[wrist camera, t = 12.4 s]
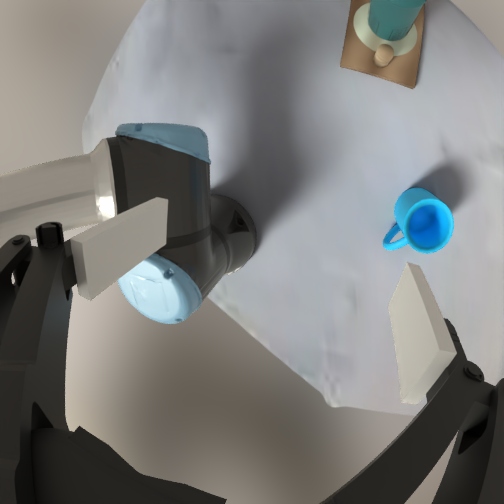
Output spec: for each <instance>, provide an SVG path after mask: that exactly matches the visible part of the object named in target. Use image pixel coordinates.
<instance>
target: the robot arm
mask: <svg viewBox="0 0 504 504" xmlns="http://www.w3.org/2000/svg"><path fill="white" fill-rule="evenodd" d="M115 135H116V137H111V138H104V139H102V140H101V141H100V143H99V144H98V145H97V146H96V148H95V149H94V150H93V151H92V152H91V153H89V154H84V155H79V156H74V157H69V158H64V159H59V160H55V161H50V162H46V163H42V164H38V165H34V166H30V167H27V168H23V169H19V170H15V171H12V172H9V173H5V174H2V175H0V504H225V502H226V500H227V499H224V498H221V497H218V496H215V495H212V494H210V493H207V492H204V491H201V490H199V489H196V488H194V487H191V486H188V485H186V484H182V483H177V482H172V481H167V480H163V479H158V478H154V477H150V476H146V475H143V474H140V473H139V472H137V471H136V470H135V469H134V468H133V467H132V466H130V465H129V464H128V463H127V462H126V461H125V460H124V459H123V458H122V457H121V456H120V455H119V454H117V453H116V452H115V451H114V450H113V449H112V448H111V447H110V446H109V445H107V444H106V443H105V442H103V441H101V440H100V439H98V438H97V437H95V436H94V435H92V434H91V433H89V432H87V431H86V430H85V429H83V428H82V427H80V426H79V427H78V428H77V429H76V430H75V432H72V431H69V429H68V426H67V423H66V417H65V369H66V349H67V338H68V328H69V319H70V311H71V303H72V296H73V293H72V287H73V286H74V285H76V284H77V287H78V292H79V295H80V296H82V297H84V298H86V299H88V300H90V301H91V300H92V299H94V298H95V297H96V296H97V295H99V294H100V293H101V292H102V291H104V290H105V289H106V288H108V287H109V286H110V285H112V284H113V283H114V282H115V281H117V280H118V284H119V286H120V289H121V291H122V292H123V294H124V296H125V297H126V299H127V300H128V301H129V302H130V303H131V305H132V306H134V307H135V308H136V309H137V310H138V311H139V312H140V313H142V314H143V315H145V316H146V317H148V318H150V319H152V320H154V321H157V322H161V323H167V324H174V323H178V322H182V321H183V320H185V319H187V318H188V317H189V316H190V315H191V314H192V313H193V312H194V311H195V310H197V309H198V308H199V307H200V305H201V303H202V302H203V300H204V299H205V298H206V297H207V295H208V294H209V293H210V291H211V290H212V289H213V288H214V287H215V285H216V284H217V283H218V282H219V280H220V279H221V278H222V276H224V275H227V274H231V273H233V272H235V271H237V270H239V269H240V268H242V267H243V266H244V265H245V264H246V262H247V261H248V260H249V258H250V257H251V256H252V254H253V252H254V249H255V245H256V231H255V227H254V224H253V221H252V219H251V217H250V216H249V214H248V213H247V211H246V210H245V209H244V208H243V207H242V206H241V205H240V204H238V203H237V202H236V201H234V200H232V199H230V198H228V197H225V196H221V195H210V164H211V161H210V159H209V150H208V138H207V135H206V134H205V132H204V131H203V130H201V129H200V128H198V127H194V126H188V125H180V124H168V123H144V124H143V123H128V124H122V125H119V126H118V127H117V131H116V132H115ZM97 223H99V224H98V225H96V226H94V227H92V228H90V229H88V230H86V231H84V232H82V233H80V234H78V235H76V236H74V237H72V238H71V239H69V240H67V241H65V242H64V237H63V232H64V231H67V230H71V229H75V228H80V227H84V226H88V225H93V224H97ZM36 238H37V243H38V247H36V246H31V241H30V240H33V239H36ZM12 273H13V275H14V279H15V283H14V284H12V280H11V277H12ZM388 309H389V315H390V320H391V326H392V332H393V338H394V344H395V351H396V358H397V366H398V374H399V383H400V393H401V402H402V403H409V404H416V405H418V404H419V403H420V401H421V400H422V399H423V398H424V397H425V395H426V397H427V404H426V405H425V406H424V407H423V409H422V410H421V411H420V412H419V413H418V414H417V415H416V416H415V418H414V419H413V420H412V421H411V422H410V424H409V425H408V426H407V427H406V428H405V429H404V430H403V431H402V432H401V433H400V434H399V435H398V436H397V437H396V439H394V440H393V441H392V442H391V444H389V445H388V446H387V448H385V449H384V450H383V451H382V452H381V453H380V454H379V455H378V456H377V457H376V458H375V459H374V460H373V461H372V462H371V463H369V464H368V465H367V466H366V467H365V468H364V469H363V470H361V471H360V472H359V473H358V474H357V475H356V476H354V477H353V478H352V479H351V480H350V481H348V482H347V483H346V484H345V485H343V486H342V487H341V488H340V489H338V490H337V491H336V492H334V493H333V494H332V495H330V496H329V497H328V498H326V499H325V500H324V501H322V502H321V503H319V504H404V503H405V502H406V501H407V500H408V498H409V497H410V496H411V495H412V494H413V493H414V491H415V490H416V489H417V488H418V486H419V485H420V484H421V483H422V482H423V480H424V479H425V478H426V476H427V475H428V474H429V473H430V471H431V470H432V469H433V467H434V466H435V465H436V463H437V462H438V460H439V459H440V458H441V456H442V455H443V453H444V452H445V450H446V449H447V447H448V446H449V444H450V442H451V441H452V440H453V438H454V436H455V435H456V433H457V432H458V434H457V438H456V441H455V444H454V448H453V451H452V454H451V457H450V459H449V462H448V465H447V468H446V471H445V473H444V476H443V478H442V481H441V483H440V486H439V488H438V490H437V493H436V495H435V497H434V500H433V502H432V504H504V378H502V379H501V380H500V381H499V382H498V383H497V385H496V386H493V385H491V384H489V383H487V382H485V381H484V375H483V372H482V371H481V369H480V368H479V367H478V366H477V365H476V364H474V363H473V362H471V361H467V358H466V356H465V353H464V350H463V348H462V345H461V343H460V340H459V338H458V336H457V333H456V330H455V328H454V326H453V325H452V324H451V323H450V321H449V320H448V319H445V318H443V316H442V314H441V311H440V309H439V306H438V304H437V302H436V300H435V297H434V295H433V293H432V291H431V289H430V286H429V284H428V282H427V280H426V278H425V276H424V274H423V272H422V270H421V268H420V266H418V265H415V264H412V263H408V262H407V263H406V266H405V268H404V271H403V273H402V276H401V278H400V280H399V283H398V285H397V287H396V290H395V292H394V294H393V296H392V299H391V301H390V303H389V305H388ZM458 430H459V431H458Z"/></svg>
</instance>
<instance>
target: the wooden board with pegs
mask: <svg viewBox="0 0 504 504" xmlns="http://www.w3.org/2000/svg"><path fill="white" fill-rule="evenodd" d="M370 1H371V0H351V7H350V13H349V19H348V25H347V30H346V36H345V41H344V47H343V52H342V58H341V63H340V67H343V68H347V69H351V70H355V71H359V72H362V73H366V74H369V75H372V76H376V77H379V78H382V79H385V80H388V81H391V82H394V83H397V84H400V85H403V86H405V87H408V88H411V89H413V88H415V82H416V77H417V70H418V64H419V57H420V50H421V42H422V33H423V22H424V10H425V3H424V5H423V6H422V8H421V9H420V11H419V13H418V15H417V16H418V17H416V19H415V21H414V23H413V26H412V27H410V28H411V29H409V32H408V34H407V35H406V36H405V37H404V38H402V39H401V40H400V41H399V40H397V41H387V40H384V39H382V38H380V37H378V36H377V35H376V34H375V33H374V32H373V31H371V28H369V27H370V26H368V23H367V22H368V19H367V18H368V16H369V14H368V13H369V12H368V11H369V9H370V4H369V3H370Z"/></svg>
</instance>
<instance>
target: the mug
mask: <svg viewBox="0 0 504 504" xmlns="http://www.w3.org/2000/svg"><path fill="white" fill-rule="evenodd" d="M394 213H395V219H396V221H397V223H398V224H396V225H395V226H394V227H393V228H392V229H391V230H390V231H389V232H388V233H387V234H386V236H385V238H384V239H383V247H384V248H385V249H386V250H395V249H399V248H401V247H403V246H405V245H407V244H409V245H410V246H411V247H412V248H413V249H415V250H416V251H418V252H421V253H433V252H436V251H438V250H440V249H442V248H443V247H444V246H445V245H446V244H447V243H448V241H449V240H450V238H451V236H452V233H453V228H454V221H453V216H452V213H451V211H450V209H449V208H448V207H447V206H446V204H444V203H443V202H442V201H441V200H439V199H438V198H437V197H435V196H434V195H433V194H432V193H430V192H429V191H427V190H425V189H423V188H411V189H408V190H407V191H405V192H403V193H402V194H401V195H400V197H399V198H398V200H397V202H396V204H395V210H394ZM400 230H401V231H402V233H403V235H404V237H403V238H401V239H399V240H397V241H395V242H392V243H390V241H391V239H392V238H393V237H394V236H395V235H396V234H397V233H398V232H399V231H400Z"/></svg>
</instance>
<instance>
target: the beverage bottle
mask: <svg viewBox="0 0 504 504" xmlns="http://www.w3.org/2000/svg"><path fill="white" fill-rule="evenodd" d="M425 2H426V0H371V1H370V3H369V4H370V9H369V11H368V12H369V13H368V14H369V16H368V18H367V19H368V22H367V23H368V26H370V27H369V28H371V31H373V32H374V33H375V34H376V35H377V36H378V37H380V38H382V39H384V40H387V41H397V40H399V41H400V40H401V39H402V38H404V37H405V36H406V35H407V34H408V32H409V29H411V28H410V27H412V26H413V23H414V21H415V19H416V17H418V16H417V15H418V13H419V11H420V9H421V8H422V6H423V5H424V3H425Z"/></svg>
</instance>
